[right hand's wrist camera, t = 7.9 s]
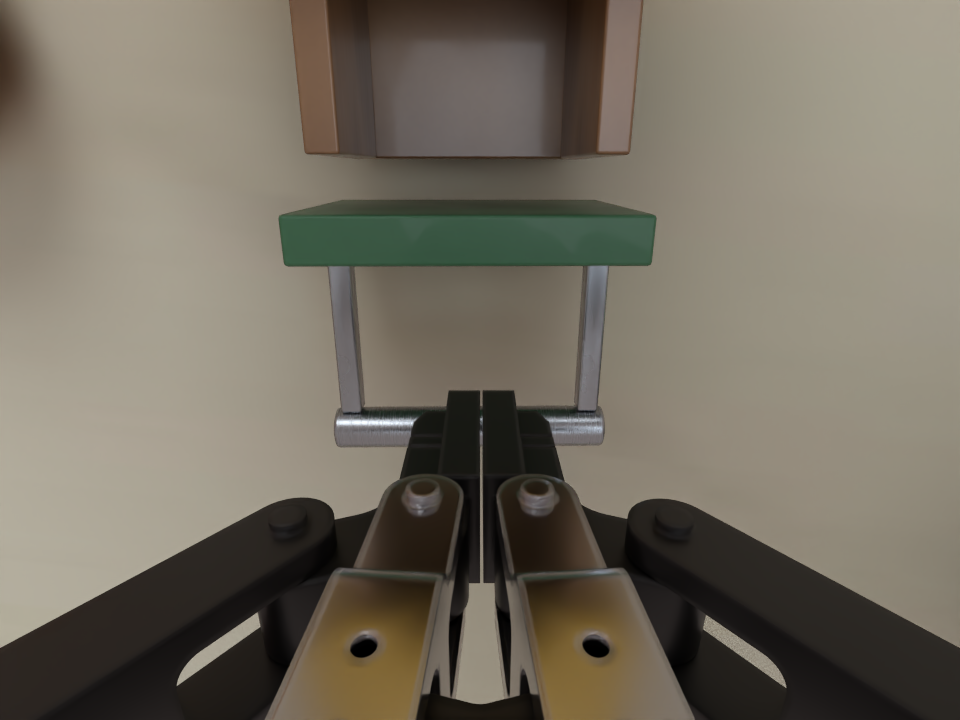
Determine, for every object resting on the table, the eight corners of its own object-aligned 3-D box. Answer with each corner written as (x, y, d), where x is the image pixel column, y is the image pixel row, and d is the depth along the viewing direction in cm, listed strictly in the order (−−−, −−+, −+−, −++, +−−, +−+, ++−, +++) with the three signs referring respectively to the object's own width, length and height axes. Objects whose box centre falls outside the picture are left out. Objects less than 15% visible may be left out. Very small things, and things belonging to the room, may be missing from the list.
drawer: (583, 384, 21) (629, 472, 15) (356, 386, 21) (308, 475, 15) (626, -221, 15) (735, -493, 9) (305, -225, 15) (188, -504, 9)
